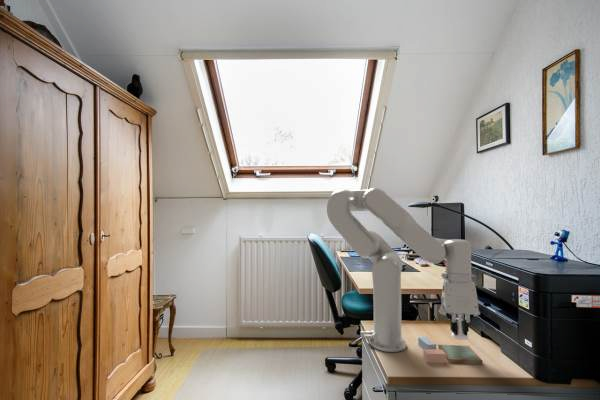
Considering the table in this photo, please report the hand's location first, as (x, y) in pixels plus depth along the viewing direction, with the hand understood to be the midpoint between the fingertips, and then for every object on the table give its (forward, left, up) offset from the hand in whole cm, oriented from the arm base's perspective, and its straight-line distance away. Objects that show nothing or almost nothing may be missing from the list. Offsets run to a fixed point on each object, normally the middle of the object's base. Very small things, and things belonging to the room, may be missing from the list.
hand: (459, 332), depth 102 cm
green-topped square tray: (0, 0, -7) cm, 7 cm away
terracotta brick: (-9, -4, -8) cm, 13 cm away
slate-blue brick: (-9, +4, -8) cm, 13 cm away
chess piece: (0, 0, -1) cm, 1 cm away
